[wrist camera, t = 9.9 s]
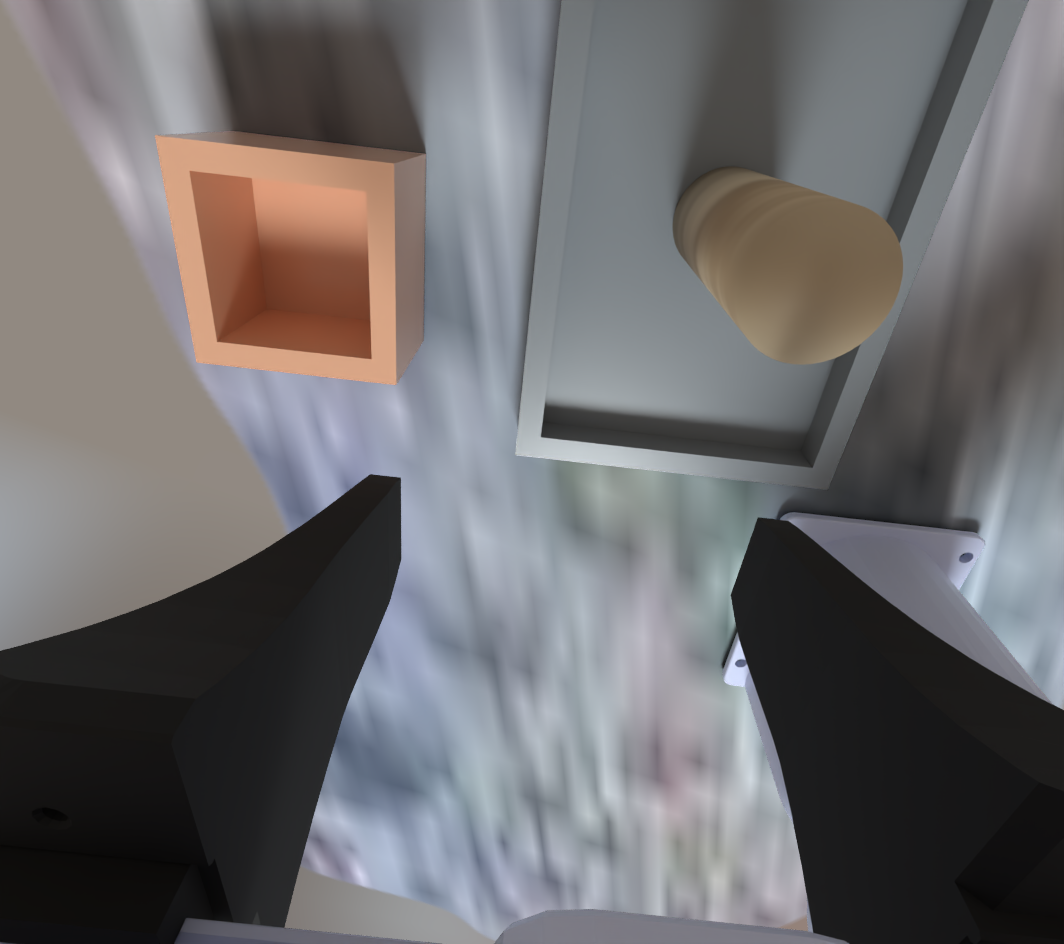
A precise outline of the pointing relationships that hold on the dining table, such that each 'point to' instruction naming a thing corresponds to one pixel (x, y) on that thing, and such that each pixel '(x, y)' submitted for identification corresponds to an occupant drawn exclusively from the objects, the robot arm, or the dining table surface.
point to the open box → (298, 252)
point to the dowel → (789, 262)
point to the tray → (701, 146)
